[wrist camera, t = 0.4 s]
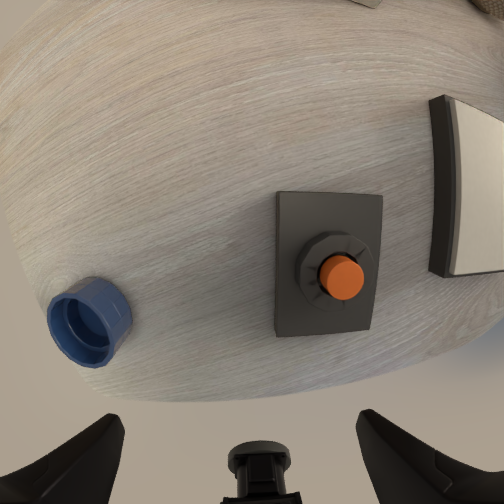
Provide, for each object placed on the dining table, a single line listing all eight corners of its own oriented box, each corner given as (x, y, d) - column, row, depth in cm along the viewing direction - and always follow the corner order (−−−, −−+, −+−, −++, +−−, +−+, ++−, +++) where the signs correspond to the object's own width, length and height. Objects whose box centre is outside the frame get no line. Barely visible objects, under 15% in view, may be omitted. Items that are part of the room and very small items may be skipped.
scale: (507, 264, 22) (524, 271, 19) (428, 270, 22) (449, 281, 18) (510, 135, 19) (528, 133, 15) (428, 100, 18) (449, 92, 15)
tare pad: (363, 322, 22) (377, 338, 19) (274, 329, 22) (278, 348, 19) (375, 195, 20) (393, 196, 17) (276, 191, 20) (282, 191, 17)
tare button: (352, 290, 19) (361, 298, 17) (318, 291, 19) (325, 301, 17) (355, 254, 18) (365, 260, 16) (320, 255, 18) (328, 261, 16)
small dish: (139, 344, 22) (122, 373, 18) (82, 338, 22) (59, 361, 17) (128, 275, 21) (104, 295, 16) (68, 274, 20) (39, 291, 16)
